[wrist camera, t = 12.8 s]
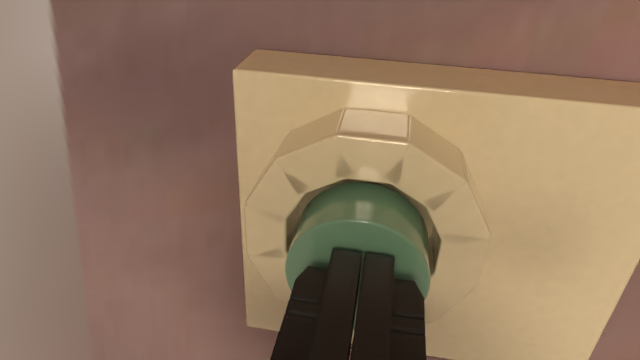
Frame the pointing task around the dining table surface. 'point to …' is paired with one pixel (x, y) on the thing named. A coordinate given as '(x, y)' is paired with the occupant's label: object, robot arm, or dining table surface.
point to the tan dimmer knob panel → (453, 189)
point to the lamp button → (361, 232)
